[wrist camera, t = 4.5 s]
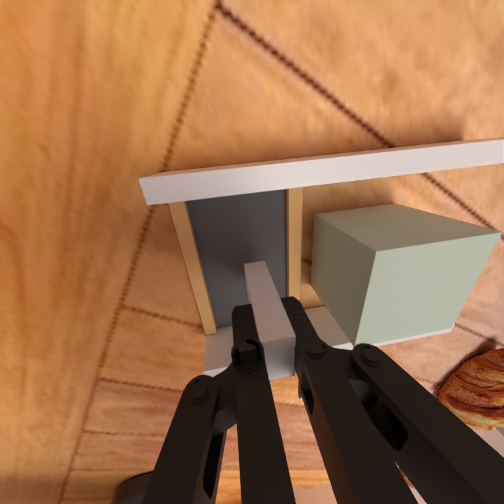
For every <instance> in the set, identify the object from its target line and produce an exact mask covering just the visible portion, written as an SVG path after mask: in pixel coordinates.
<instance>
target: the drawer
mask: <svg viewBox="0 0 504 504" xmlns="http://www.w3.org/2000/svg"><path fill="white" fill-rule="evenodd" d="M168 205H169V209H170V212H171V216H172V219H173V222H174V226H175V229H176V233H177V236H178V240H179V243H180V247H181V250H182V254H183V257H184V261H185V264H186V268H187V271H188V275H189V278H190V282H191V285H192V289H193V292H194V296H195V299H196V303H197V306H198V310H199V313H200V317H201V320H202V323H203V327H204V330H205V334H206V335H209V334H215V333H217V328H220V327H226V326H231V325H232V314H231V313H232V311H233V309H234V307H235V306H240V305H246V304H250V303H249V298H248V292H247V284H246V276H245V268H244V264H247V263H254V262H260V261H265V263H266V266H267V268H268V270H269V273H270V275H271V278H272V280H273V282H274V285H275V287H276V290H277V292H278V295H279V297H280V298H284V297H290V296H294V297H295V298H296V299H298V300H299V301H300V279H301V244H302V209H303V187H297V188H289V189H280V190H272V191H264V192H255V193H247V194H238V195H230V196H222V197H213V198H205V199H197V200H188V201H180V202H171V203H168Z"/></svg>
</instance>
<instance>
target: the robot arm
mask: <svg viewBox="0 0 504 504" xmlns="http://www.w3.org/2000/svg"><path fill="white" fill-rule="evenodd" d="M244 268H245V276H246V284H247V292H248V298H249V303H250V304H246V305H240V306H235V307H234V309H233V311H232V313H231V314H232V328H233V329H232V330H233V347H232V349H231V357H232V362H231V364H230V365H229V366H228V367H227V368H226V369H225V370H224V371H222V372H221V373H219V374H217V375H215V376H214V377H211V376H209V375H199V376H197V377H195V378H193V379H192V380H191V381H190V382H189V383H188V384H187V385H186V387H185V389H184V391H183V393H182V396H181V398H180V401H179V404H178V406H177V409H176V412H175V414H174V417H173V420H172V422H171V425H170V428H169V430H168V433H167V436H166V438H165V441H164V444H163V446H162V449H161V452H160V454H159V457H158V460H157V462H156V465H155V468H154V470H153V473H149V474H145V475H142V476H138V477H136V478H133V479H131V480H128V481H126V482H125V483H123V484H121V485H120V486H119V487H118V488H117V489H116V490H115V492H114V495H113V499H112V502H111V504H215V501H216V495H217V489H218V483H219V476H220V470H221V464H222V458H223V452H224V446H225V440H226V434H227V430H228V429H229V428H231V427H232V426H234V425H235V424H236V423H237V433H238V450H239V467H240V484H241V500H242V504H296V502H295V498H294V493H293V488H292V483H291V479H290V474H289V469H288V465H287V460H286V455H285V451H284V446H283V442H282V437H281V432H280V428H279V423H278V418H277V414H276V409H275V405H274V400H273V395H272V391H271V386H270V380H275V379H280V378H285V377H290V376H294V375H295V370H296V373H297V376H298V379H299V382H298V395H299V398H301V396H302V399H303V402H304V405H305V408H306V411H307V414H308V417H309V420H310V423H311V426H312V429H313V432H314V435H315V438H316V441H317V444H318V447H319V450H320V453H321V456H322V459H323V462H324V465H325V468H326V471H327V474H328V477H329V480H330V483H331V486H332V489H333V492H334V495H335V498H336V501H337V504H418V502H417V500H416V499H415V497H414V495H413V494H412V492H411V490H410V488H409V486H408V484H407V483H406V481H405V479H404V477H403V476H402V474H401V472H400V470H399V468H400V469H401V470H402V472H403V473H404V474H405V476H406V477H407V478H408V480H409V481H410V482H411V483H412V485H413V486H414V487H415V489H416V490H417V491H418V493H419V494H420V495H421V497H422V498H423V499H424V501H425V502H426V503H427V504H504V457H502V456H501V455H500V454H499V453H498V452H497V451H495V450H494V449H493V448H492V447H491V446H490V445H489V444H488V443H486V442H485V441H484V440H483V439H482V438H481V437H480V436H479V435H477V434H476V433H475V432H474V431H473V430H472V429H471V428H469V427H468V426H467V425H466V424H465V423H464V422H463V421H461V420H460V419H459V418H458V417H457V416H456V415H455V414H454V413H452V412H451V411H450V410H449V409H448V408H447V407H446V406H444V405H443V404H442V403H441V402H440V401H439V400H438V399H436V398H435V397H434V396H433V395H432V394H431V393H430V392H429V391H427V390H426V389H425V388H424V387H423V386H422V385H421V384H419V383H418V382H417V381H416V380H415V379H414V378H413V377H411V376H410V375H409V374H408V373H407V372H406V371H405V370H403V369H402V368H401V367H400V366H399V365H398V364H397V363H396V362H394V361H393V360H392V359H391V358H390V357H389V356H388V355H386V354H385V353H384V352H383V351H382V350H380V349H379V348H377V347H376V346H374V345H371V344H368V343H360V344H356V345H355V346H354V347H353V350H348V349H339V348H334V347H331V346H329V345H328V344H327V343H325V342H324V341H322V340H321V339H320V337H319V336H318V334H317V332H316V331H315V329H314V327H313V325H312V323H311V321H310V320H309V318H308V316H307V315H306V312H305V310H304V309H303V307H302V305H301V303H300V301H299V300H298V299H296V298H295V297H294V296H290V297H284V298H280V297H279V295H278V292H277V290H276V287H275V285H274V282H273V280H272V278H271V275H270V273H269V270H268V268H267V266H266V263H265V261H260V262H254V263H247V264H244ZM395 462H396V463H395ZM396 464H397V465H398V466H399V468H398V467H397V465H396Z"/></svg>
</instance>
